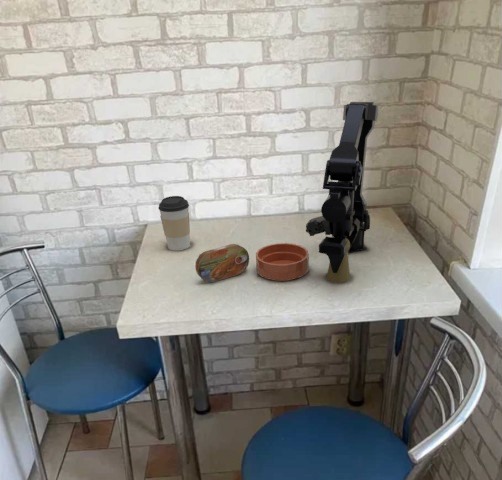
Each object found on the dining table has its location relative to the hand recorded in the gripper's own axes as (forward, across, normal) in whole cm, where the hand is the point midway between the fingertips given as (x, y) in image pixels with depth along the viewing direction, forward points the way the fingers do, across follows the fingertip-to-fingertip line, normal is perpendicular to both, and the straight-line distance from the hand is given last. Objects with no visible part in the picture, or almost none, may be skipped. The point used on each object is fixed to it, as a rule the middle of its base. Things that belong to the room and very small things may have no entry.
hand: (338, 266), depth 139 cm
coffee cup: (+4, -8, -52) cm, 53 cm away
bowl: (+3, 0, -16) cm, 16 cm away
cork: (+4, 0, 0) cm, 4 cm away
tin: (+4, +8, -30) cm, 31 cm away
